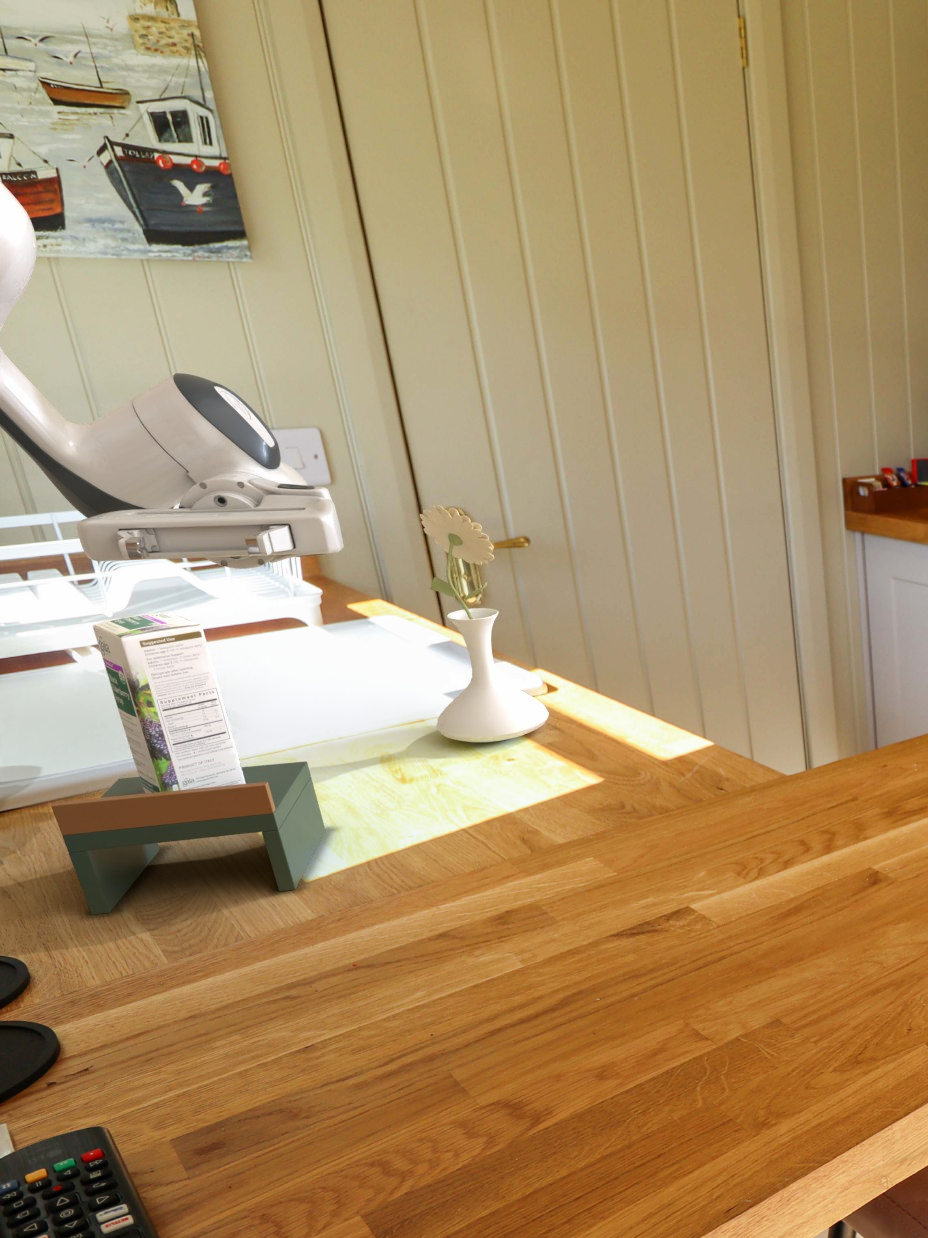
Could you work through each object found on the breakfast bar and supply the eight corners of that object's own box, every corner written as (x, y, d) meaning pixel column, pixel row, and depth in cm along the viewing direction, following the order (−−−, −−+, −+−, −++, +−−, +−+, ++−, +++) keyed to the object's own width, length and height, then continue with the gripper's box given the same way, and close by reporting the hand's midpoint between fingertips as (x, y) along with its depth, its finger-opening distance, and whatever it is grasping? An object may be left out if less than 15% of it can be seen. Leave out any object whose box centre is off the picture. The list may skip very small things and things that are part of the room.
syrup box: (141, 793, 96) (84, 623, 90) (221, 772, 101) (172, 608, 95) (171, 810, 93) (114, 635, 87) (252, 787, 98) (203, 620, 92)
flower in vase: (570, 732, 131) (532, 508, 121) (468, 759, 123) (419, 522, 113) (513, 706, 138) (474, 493, 128) (414, 730, 130) (363, 505, 120)
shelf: (91, 915, 92) (50, 805, 88) (143, 851, 102) (109, 751, 98) (295, 890, 96) (265, 785, 92) (326, 831, 106) (300, 734, 102)
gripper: (99, 491, 110) (38, 516, 98) (345, 486, 117) (315, 509, 105) (120, 557, 113) (62, 589, 101) (359, 549, 119) (331, 578, 107)
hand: (193, 548), depth 103 cm, fingers open, 8 cm apart
